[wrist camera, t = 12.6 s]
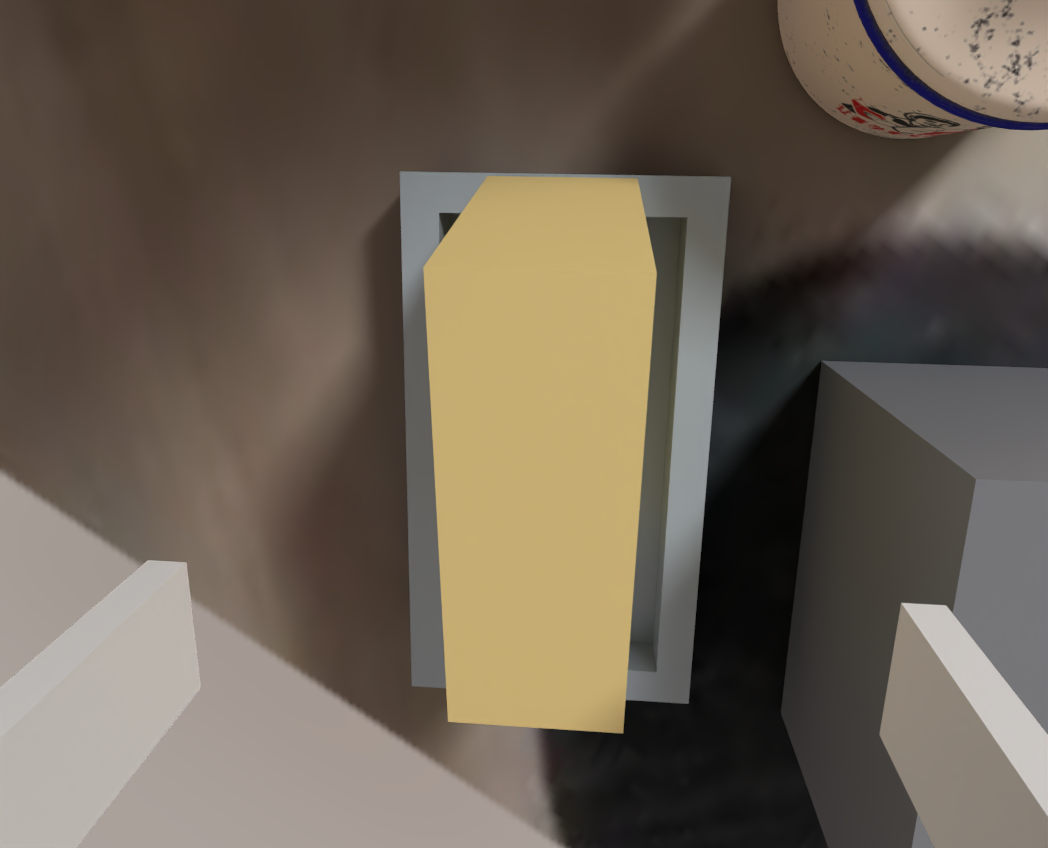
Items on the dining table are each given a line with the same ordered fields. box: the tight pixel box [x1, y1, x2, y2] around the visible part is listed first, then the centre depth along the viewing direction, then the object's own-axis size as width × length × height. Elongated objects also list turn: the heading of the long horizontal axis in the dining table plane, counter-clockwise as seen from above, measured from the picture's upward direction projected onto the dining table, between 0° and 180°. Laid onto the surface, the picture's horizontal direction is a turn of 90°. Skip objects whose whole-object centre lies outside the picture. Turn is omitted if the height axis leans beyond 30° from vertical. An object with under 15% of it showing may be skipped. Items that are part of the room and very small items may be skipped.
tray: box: [400, 171, 731, 704], centre depth 29 cm, size 18×10×3 cm, turn 179°
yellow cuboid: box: [423, 176, 657, 733], centre depth 23 cm, size 12×4×10 cm, turn 179°
